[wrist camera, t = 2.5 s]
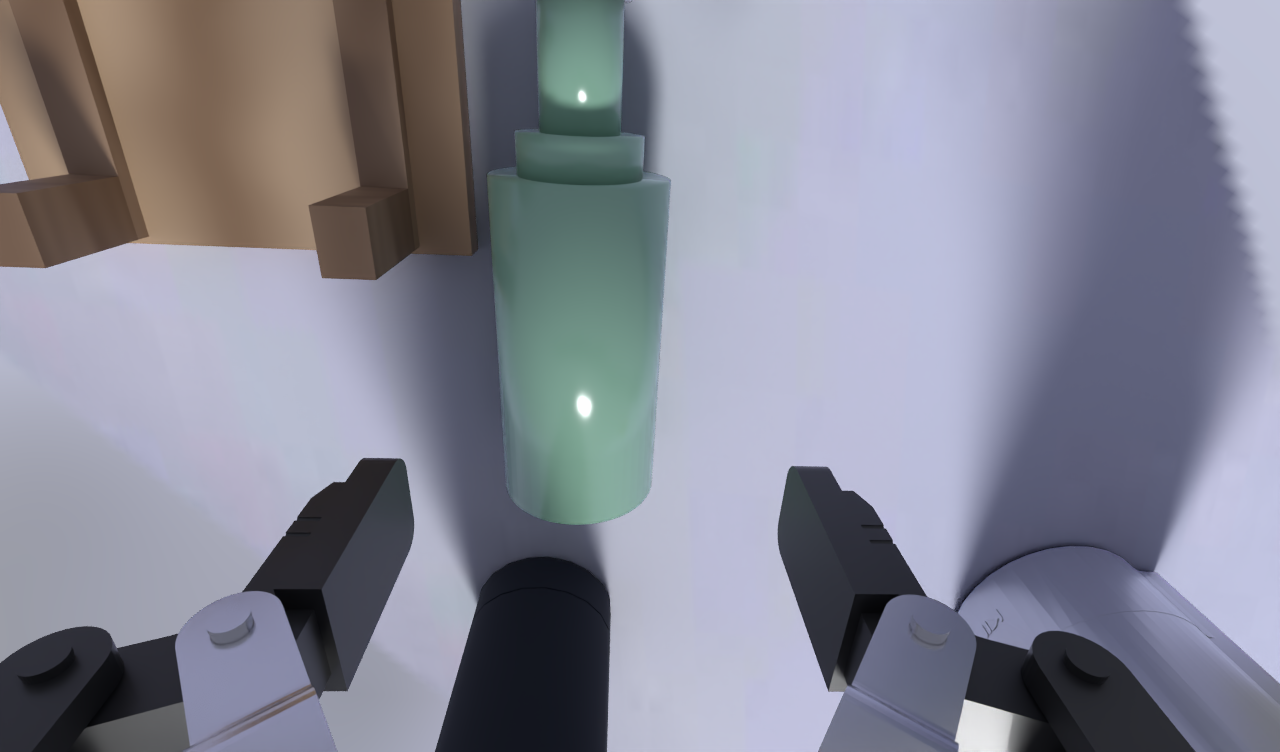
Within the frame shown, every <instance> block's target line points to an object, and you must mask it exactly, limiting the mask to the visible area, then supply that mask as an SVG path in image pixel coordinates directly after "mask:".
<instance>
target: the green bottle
mask: <svg viewBox="0 0 1280 752" xmlns="http://www.w3.org/2000/svg"><path fill="white" fill-rule="evenodd" d="M630 2H632V0H536V39H537V77H538V116H539V129H520V130H515V131H514V133H515V157H516V167H508V168H501V169H496V170H492V171H490V172H488V173H487V189H488V205H489V221H490V237H491V253H492V269H493V285H494V301H495V317H496V333H497V349H498V365H499V381H500V397H501V413H502V429H503V446H504V462H505V478H506V488H507V492H508V494H509V497H510V498H511V499H512V501H513V502H514V503H515V504H516V505H517V506H518V507H519V508H520V509H522V510H523V511H525V512H526V513H528V514H530V515H532V516H534V517H537V518H539V519H542V520H545V521H549V522H554V523H559V524H569V525H584V524H594V523H600V522H605V521H608V520H612V519H615V518H618V517H620V516H623V515H625V514H627V513H629V512H630V511H632V510H633V509H635V508H636V507H637V506H639V505H640V504H641V503H642V502H643V501H644V499H645V498H646V497H647V495H648V493H649V491H650V488H651V483H652V469H653V453H654V438H655V422H656V406H657V391H658V375H659V359H660V344H661V328H662V312H663V297H664V281H665V265H666V250H667V234H668V218H669V203H670V187H671V180H670V179H669V178H668V177H665V176H663V175H659V174H655V173H650V172H645V171H643V166H644V143H645V136H643V135H639V134H633V133H624V132H621V119H622V84H623V49H624V14H625V4H626V3H630Z"/></svg>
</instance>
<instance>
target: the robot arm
mask: <svg viewBox="0 0 1280 752" xmlns="http://www.w3.org/2000/svg"><path fill="white" fill-rule="evenodd" d="M883 526H884V525H883V523H882V522H881V520H880V518H879V517H878V515H877V513H876V512H875V510H874V508H873V507H872V506H871V505H870V504H868V503H867V502H866V501H865V500H864V499H862V498H861V497H860V496H859V495H857V494H856V493H855V492H854V491H842V490H841V489H840V487H839V485H838V483H837V481H836V480H835V478H834V476H833V474H832V472H831V471H830V469H829V468H828V467H807V466H792V467H791V468H790V469H789V471H788V474H787V479H786V485H785V490H784V496H783V501H782V506H781V512H780V517H779V523H778V545H779V550H780V554H781V557H782V560H783V563H784V566H785V569H786V572H787V574H788V577H789V580H790V583H791V586H792V589H793V592H794V594H795V597H796V600H797V603H798V606H799V609H800V612H801V614H802V617H803V620H804V623H805V626H806V629H807V632H808V634H809V637H810V640H811V643H812V646H813V649H814V652H815V654H816V657H817V660H818V663H819V666H820V669H821V672H822V674H823V677H824V680H825V683H826V686H827V689H828V692H844V694H843V696H842V699H841V701H840V703H839V705H838V708H837V710H836V712H835V714H834V717H833V719H832V721H831V724H830V726H829V728H828V730H827V733H826V735H825V737H824V739H823V742H822V744H821V746H820V749H819V751H818V752H1280V684H1279V683H1278V682H1277V681H1276V680H1275V679H1274V678H1273V677H1272V676H1271V675H1269V674H1268V673H1267V672H1266V671H1265V670H1264V669H1263V668H1262V667H1261V666H1259V665H1258V664H1257V663H1256V662H1255V661H1254V660H1253V659H1252V658H1251V657H1250V656H1248V655H1247V654H1246V653H1245V652H1244V651H1243V650H1242V649H1241V648H1240V647H1239V646H1237V645H1236V644H1235V643H1234V642H1233V641H1232V640H1231V639H1230V638H1229V637H1227V636H1226V635H1225V634H1224V633H1223V632H1222V631H1221V630H1220V629H1219V628H1218V627H1216V626H1215V625H1214V624H1213V623H1212V622H1211V621H1210V620H1209V619H1208V618H1206V617H1205V616H1204V615H1203V614H1202V613H1201V612H1200V611H1199V610H1198V609H1197V608H1195V607H1194V606H1193V605H1192V604H1191V603H1190V602H1189V601H1188V600H1187V599H1185V598H1184V597H1183V596H1182V595H1181V594H1180V593H1179V592H1178V591H1177V590H1176V589H1174V588H1173V587H1172V586H1171V585H1170V584H1169V583H1168V582H1167V581H1166V580H1165V579H1163V578H1162V577H1161V576H1160V575H1159V574H1158V573H1157V572H1144V571H1138V570H1136V569H1135V568H1133V567H1132V566H1131V565H1130V564H1129V563H1128V562H1127V561H1125V560H1124V559H1123V558H1122V557H1120V556H1118V555H1116V554H1114V553H1112V552H1110V551H1107V550H1103V549H1099V548H1094V547H1088V546H1066V547H1058V548H1051V549H1046V550H1043V551H1039V552H1036V553H1032V554H1029V555H1026V556H1024V557H1022V558H1019V559H1017V560H1015V561H1013V562H1010V563H1008V564H1006V565H1005V566H1003V567H1002V568H1000V569H998V570H997V571H995V572H994V573H992V574H990V575H989V576H988V577H987V578H986V579H984V580H983V581H982V582H981V583H980V584H979V585H978V586H976V587H975V588H974V590H973V591H972V592H971V593H970V594H969V596H968V597H967V598H966V599H965V601H964V602H963V604H962V606H961V608H960V610H959V612H958V613H957V612H955V611H954V610H953V609H951V608H950V607H948V606H946V605H945V604H943V603H941V602H939V601H937V600H934V599H931V598H928V597H927V596H926V594H925V593H924V591H923V589H922V588H921V586H920V584H919V583H918V581H917V579H916V578H915V576H914V574H913V573H912V571H911V570H910V568H909V566H908V565H907V563H906V561H905V560H904V558H903V556H902V555H901V553H900V551H899V550H898V548H897V546H896V545H895V544H893V540H892V538H891V537H890V535H889V533H888V532H887V530H886V529H884V527H883ZM413 533H414V516H413V510H412V503H411V496H410V490H409V483H408V477H407V470H406V465H405V463H404V461H403V460H402V459H392V458H363V459H362V460H360V462H359V463H358V464H357V466H356V467H355V469H354V470H353V472H352V473H351V475H350V476H349V478H348V479H347V481H346V482H333V483H332V484H330V485H329V486H328V487H326V488H325V489H323V490H322V491H321V492H319V493H318V494H316V495H315V496H314V497H312V498H311V499H310V500H309V502H308V503H307V505H306V506H305V507H304V509H303V510H302V511H301V513H300V514H299V515H298V517H297V521H294V522H293V524H292V525H291V526H290V528H289V529H288V530H287V532H286V536H283V537H282V539H281V540H280V541H279V543H278V544H277V545H276V547H275V548H274V549H273V551H272V552H271V554H270V555H269V556H268V558H267V559H266V560H265V562H264V563H263V564H262V566H261V567H260V569H259V570H258V571H257V573H256V574H255V575H254V577H253V578H252V580H251V581H250V583H249V584H248V585H247V586H246V588H245V589H244V590H243V592H241V593H237V594H233V595H230V596H227V597H224V598H222V599H220V600H217V601H215V602H213V603H211V604H210V605H208V606H206V607H205V608H203V609H202V610H200V611H199V612H197V614H195V615H194V616H193V617H191V619H189V620H188V621H187V623H186V624H185V625H184V626H183V628H182V629H181V630H180V632H179V634H175V635H172V636H167V637H163V638H159V639H155V640H151V641H146V642H142V643H138V644H133V645H129V646H125V647H121V648H116V646H115V644H114V642H113V640H112V638H111V636H110V634H109V633H108V632H107V631H106V630H103V629H101V628H97V627H87V626H86V627H75V628H70V629H65V630H62V631H59V632H55V633H52V634H50V635H47V636H44V637H42V638H40V639H38V640H36V641H34V642H32V643H30V644H28V645H26V646H24V647H22V648H21V649H19V650H18V651H16V652H15V653H13V654H12V655H10V656H9V657H8V658H6V659H5V660H4V661H2V662H1V663H0V752H338V751H337V749H336V746H335V743H334V740H333V738H332V735H331V732H330V729H329V727H328V724H327V721H326V718H325V716H324V713H323V710H322V707H321V705H320V702H319V698H320V697H321V695H322V692H323V691H348V688H349V686H350V684H351V682H352V679H353V677H354V675H355V673H356V670H357V668H358V666H359V663H360V661H361V659H362V657H363V654H364V652H365V650H366V648H367V645H368V643H369V641H370V639H371V636H372V634H373V632H374V630H375V627H376V625H377V623H378V621H379V618H380V616H381V614H382V611H383V609H384V607H385V605H386V602H387V600H388V598H389V596H390V593H391V591H392V589H393V587H394V584H395V582H396V580H397V578H398V575H399V573H400V571H401V568H402V566H403V564H404V562H405V559H406V557H407V555H408V553H409V550H410V548H411V544H412V540H413Z"/></svg>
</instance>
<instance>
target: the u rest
mask: <svg viewBox="0 0 1280 752" xmlns="http://www.w3.org/2000/svg"><path fill="white" fill-rule="evenodd" d="M0 104H1V106H2V109H3V112H4V114H5V117H6V120H7V122H8V125H9V128H10V130H11V133H12V136H13V138H14V141H15V144H16V146H17V149H18V152H19V154H20V157H21V160H22V162H23V165H24V168H25V170H26V173H27V175H28V178H29V180H27V181H20V182H13V183H7V184H0V266H2V267H30V268H47V267H51V266H54V265H57V264H60V263H64V262H67V261H70V260H74V259H77V258H80V257H83V256H87V255H90V254H93V253H96V252H100V251H103V250H106V249H109V248H113V247H116V246H119V245H122V244H126V243H145V244H172V245H198V246H224V247H251V248H277V249H304V250H317V254H318V260H319V265H320V270H321V275H322V278H335V279H363V280H377V279H378V278H379V277H381V276H382V275H383V274H385V273H386V272H387V271H389V270H390V269H391V268H392V267H394V266H395V265H396V264H398V263H399V262H400V261H402V260H403V259H404V258H406V257H407V256H408V255H410V254H436V255H462V256H472V255H473V254H474V253H475V252H476V251H477V250H478V239H477V225H476V211H475V197H474V183H473V169H472V155H471V141H470V128H469V114H468V100H467V86H466V72H465V58H464V44H463V30H462V16H461V2H460V0H0Z"/></svg>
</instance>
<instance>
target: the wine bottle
mask: <svg viewBox="0 0 1280 752" xmlns="http://www.w3.org/2000/svg"><path fill="white" fill-rule="evenodd" d="M610 618H611V613H610V598H609V596H608V594H607V592H606V590H605V588H604V586H603V584H602V583H601V582H600V581H599V580H598V579H597V578H596V577H595V576H593V575H592V574H591V573H590V572H589V571H588V570H586V569H584V568H582V567H580V566H578V565H576V564H574V563H572V562H568V561H564V560H559V559H554V558H528V559H524V560H521V561H517V562H514V563H510V564H508V565H506V566H505V567H503V568H502V569H500V570H499V571H497V572H495V573H494V574H492V576H491V577H490V578H489V580H488V581H487V582H486V584H485V585H484V586H483V587H482V590H481V593H480V597H479V600H478V604H477V607H476V611H475V614H474V618H473V621H472V625H471V628H470V632H469V635H468V639H467V642H466V646H465V649H464V653H463V656H462V660H461V663H460V666H459V670H458V673H457V677H456V680H455V684H454V687H453V691H452V694H451V698H450V701H449V705H448V708H447V712H446V715H445V719H444V722H443V726H442V730H441V733H440V737H439V740H438V743H437V747H436V750H435V752H607V729H608V692H609V655H610Z"/></svg>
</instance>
